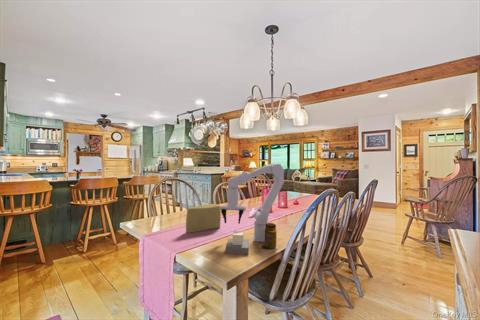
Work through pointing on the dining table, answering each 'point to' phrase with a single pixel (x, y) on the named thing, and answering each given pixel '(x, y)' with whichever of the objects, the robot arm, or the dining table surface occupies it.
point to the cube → (237, 238)
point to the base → (237, 247)
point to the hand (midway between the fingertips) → (232, 222)
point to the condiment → (270, 238)
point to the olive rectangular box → (203, 218)
